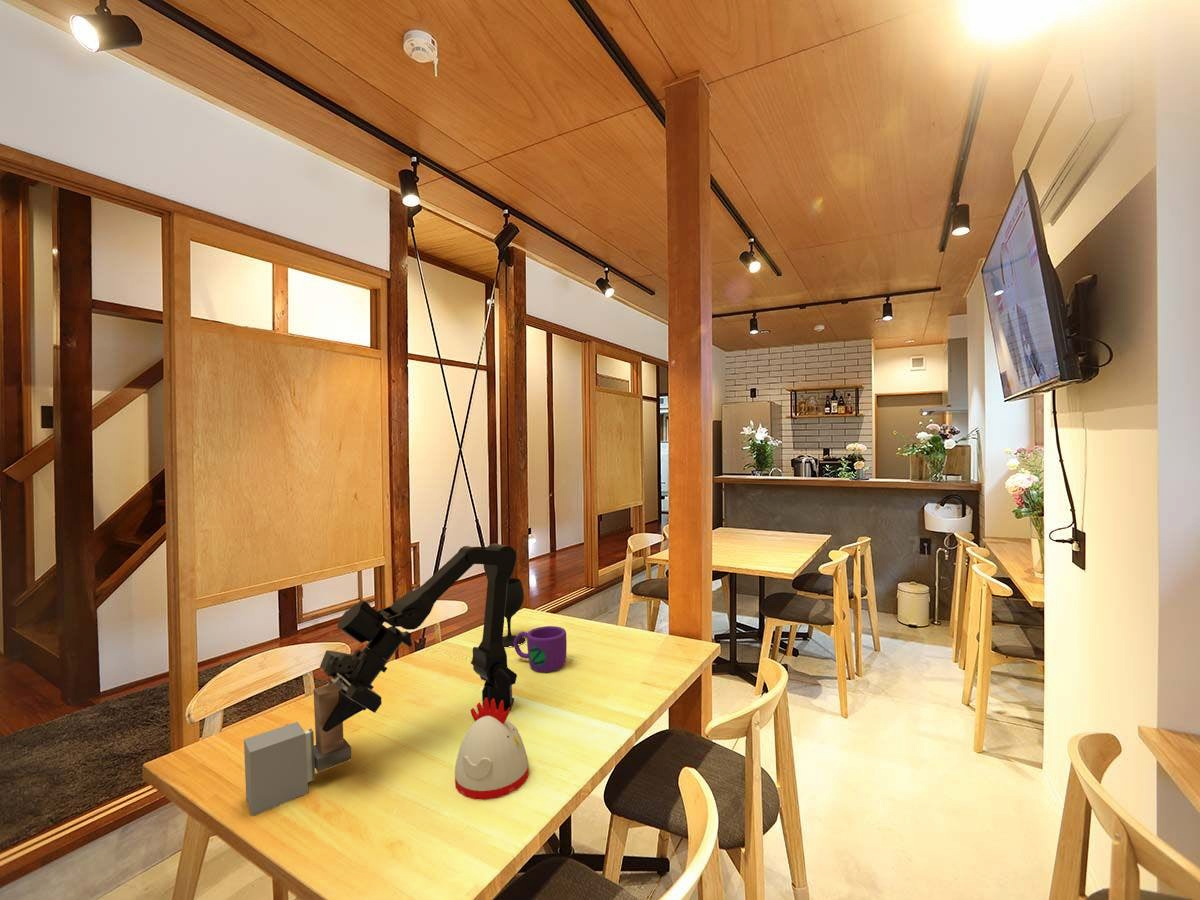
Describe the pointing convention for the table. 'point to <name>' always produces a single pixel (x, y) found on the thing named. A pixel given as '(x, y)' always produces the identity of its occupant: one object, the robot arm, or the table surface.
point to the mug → (544, 648)
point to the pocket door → (310, 755)
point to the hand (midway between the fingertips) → (321, 726)
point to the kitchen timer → (490, 755)
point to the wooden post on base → (331, 743)
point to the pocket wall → (275, 767)
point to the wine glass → (513, 608)
